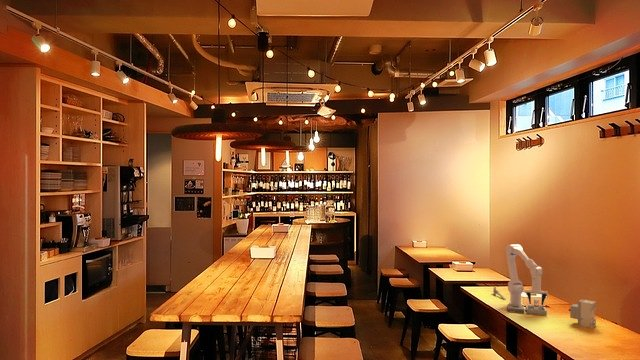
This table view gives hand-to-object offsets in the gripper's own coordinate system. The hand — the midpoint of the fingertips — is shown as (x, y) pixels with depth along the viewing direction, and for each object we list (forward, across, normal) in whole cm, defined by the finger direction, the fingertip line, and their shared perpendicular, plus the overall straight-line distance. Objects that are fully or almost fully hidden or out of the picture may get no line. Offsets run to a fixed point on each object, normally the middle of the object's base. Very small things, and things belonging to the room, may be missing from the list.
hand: (536, 304), depth 330 cm
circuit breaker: (+6, +24, -21) cm, 32 cm away
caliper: (+6, -22, +40) cm, 46 cm away
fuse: (+5, 0, 0) cm, 5 cm away
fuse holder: (+6, -13, 0) cm, 14 cm away
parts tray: (+6, 0, 0) cm, 6 cm away
